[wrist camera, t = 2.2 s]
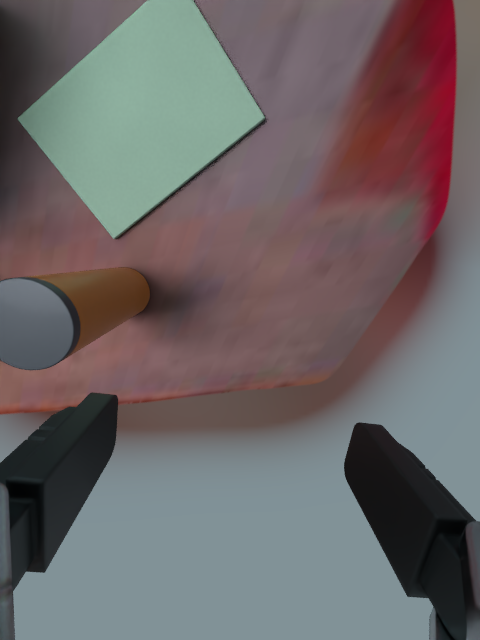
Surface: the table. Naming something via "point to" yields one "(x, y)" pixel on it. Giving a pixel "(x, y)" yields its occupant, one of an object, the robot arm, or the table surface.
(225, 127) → the placemat
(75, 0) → the table surface
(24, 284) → the crisps tube
